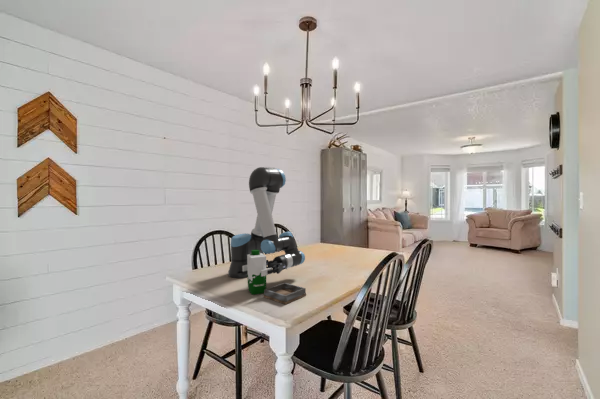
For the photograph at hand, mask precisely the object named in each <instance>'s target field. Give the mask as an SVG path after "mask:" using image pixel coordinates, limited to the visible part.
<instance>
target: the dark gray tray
mask: <svg viewBox="0 0 600 399" xmlns="http://www.w3.org/2000/svg"><path fill="white" fill-rule="evenodd" d="M306 291H307V290H306V288H305V287H302V286H298V285H295V284H292V283H287V282H283V283H279V284H277V285H274V286H271V287H268V288H266V289H265V290H264V293H263V298H265V299H267V300H271V301H274V302H276V303H281V304H282V305H287V304H290V303H292V302H294V301H298V300H299V299H301V298H304V297H306V296H307V293H306Z"/></svg>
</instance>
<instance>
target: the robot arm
mask: <svg viewBox="0 0 600 399" xmlns="http://www.w3.org/2000/svg"><path fill="white" fill-rule="evenodd" d="M286 178H287V177H286V174H285V172H284V171H283V170H282V169H280V168H275V167H262V166H261V167H257V168H255V169H253V171H251V173H250V175H249V179H248V188H249V193H250V194H252V196H253V202H254V204H255V210H256V214H257V215H256V220H255V224H254V225H255V226H254V228H253V229H251V232H250V233H238V234H236V235H233V236H232V237H231V238H230V265H229V269H228V272H227V273H228V277H230V278H234V279H235V278H236V279H241V278H243V279H244V278H248V274H247V255H248V254H251V250H260V253H262V254H264V255H266V254H267V255H268V254H269V255H270V254H274V253H279V252H282V251H284V253H285V254H281V255H277V256H274V257H273V260H268V259H266V269H265V270H261V276H266V277H267V276H269V275H271V274H272V275H273V274H280V273H281V272H282V271H283V270H288V269H290V268H293V267H297V266H300V265H302V264H304V262H305V260H306V255H305V253H304V252H303V251H301V250H299V248H298V246H297V243H296V241H295V238H294V236H293V233H292V232H291V231H284V232H282V233H281V234H279V235H277V230H276V226H275V222H274V218H273V210H274V206H275V200H276V197H277V195H278V194H279V193H280V192H281V191H280V190H281V189H282V188H283V187H284V186H285V184H286V182H287V181H286V180H287V179H286Z"/></svg>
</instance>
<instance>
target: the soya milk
mask: <svg viewBox="0 0 600 399" xmlns="http://www.w3.org/2000/svg"><path fill="white" fill-rule="evenodd" d="M266 260H267V255H266V254H265V253H260V250H251V254H248V255H247V274H248V277H247V288H248V289H247V290H248V291H249V293H250V294H251V295H252V296H254V295H261V294H264V290H265V289H267V275H266V276H261V270H265V269H267V268H266Z"/></svg>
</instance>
